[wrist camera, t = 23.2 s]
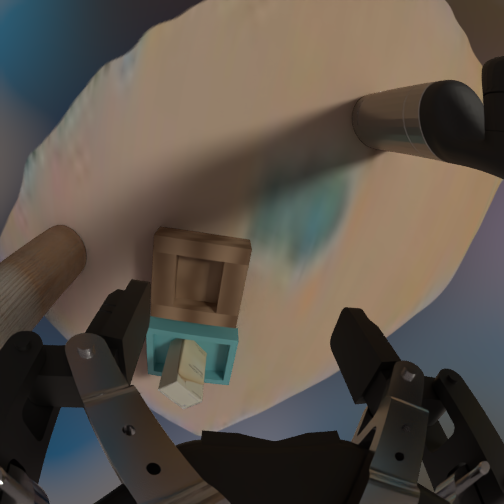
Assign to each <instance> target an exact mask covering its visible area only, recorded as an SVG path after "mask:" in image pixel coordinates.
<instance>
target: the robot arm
mask: <svg viewBox="0 0 504 504" xmlns="http://www.w3.org/2000/svg"><path fill="white" fill-rule="evenodd" d="M482 90H483V104H484V106H483V104H482V102H481V100H480V99H479V97H478V96H477V94H476V93H475V92H474V91H473V90H472V89H471V88H470V87H468V86H467V85H466V84H464V83H462V82H459V81H455V80H444V81H438V82H430V83H424V84H419V85H413V86H407V87H402V88H397V89H392V90H387V91H382V92H377V93H373V94H369V95H366V96H364V97H362V98H361V99H360V100H359V101H358V102H357V103H356V105H355V107H354V110H353V115H352V121H353V126H354V130H355V132H356V134H357V136H358V137H359V139H360V140H361V141H362V142H363V143H364V144H365V145H367V146H369V147H370V148H373V149H378V150H385V151H390V152H396V153H402V154H408V155H413V156H419V157H424V158H429V159H434V160H439V161H443V162H448V163H452V164H457V165H462V166H467V167H470V168H474V169H477V170H481V171H484V172H486V173H489V174H492V175H494V176H497V177H499V178H502V179H504V56H501V57H496V58H494V59H491V60H489V61H487V62H486V63H485V64H484V65H483V68H482ZM150 298H151V284H150V282H146V281H140V280H134V279H132V280H131V281H130V283H129V284H128V286H127V288H126V289H125V290H119V289H117V290H116V291H114V292H112V293H111V294H109V295H108V297H107V298H106V300H105V301H104V303H103V304H102V306H101V308H100V309H99V311H98V312H97V314H96V316H95V317H94V319H93V320H92V322H91V324H90V325H89V327H88V329H87V330H86V332H85V333H81V334H77V335H75V336H73V337H71V338H70V339H69V340H68V341H67V343H66V345H62V346H57V345H43V343H42V340H41V338H40V336H39V335H38V334H36V333H35V332H32V331H20V332H17V333H15V334H13V335H12V336H11V337H9V339H8V340H7V341H6V343H5V344H4V346H3V347H2V349H1V350H0V504H50V503H49V499H48V496H47V495H46V493H45V491H44V490H43V489H42V488H41V487H40V486H39V485H38V482H39V478H40V474H41V470H42V466H43V462H44V458H45V455H46V451H47V448H48V445H49V441H50V438H51V435H52V432H53V429H54V426H55V423H56V420H57V417H58V414H59V411H60V408H61V407H83V408H84V410H85V412H86V414H87V416H88V419H89V421H90V424H91V425H92V428H93V430H94V432H95V434H96V436H97V438H98V440H99V442H100V445H101V447H102V449H103V450H104V453H105V454H106V456H107V458H108V460H109V462H110V464H111V466H112V468H113V469H114V471H115V473H116V475H117V476H118V478H119V480H120V481H121V483H122V484H121V485H120V486H118V487H117V488H116V489H114V490H113V491H111V492H110V493H109V494H107V495H106V496H104V497H103V498H101V499H100V500H98V501H97V502H95V503H94V504H504V444H503V442H502V440H501V438H500V436H499V435H498V433H497V431H496V430H495V428H494V426H493V425H492V423H491V421H490V420H489V418H488V416H487V415H486V413H485V412H484V410H483V409H482V407H481V406H480V404H479V402H478V401H477V399H476V398H475V396H474V395H473V393H472V392H471V390H470V389H469V387H468V386H467V385H466V383H465V382H464V380H463V379H462V377H461V376H460V375H459V374H458V373H456V372H455V371H453V370H451V369H442V370H441V371H440V372H439V374H438V375H437V376H436V378H433V377H427V376H424V374H423V372H422V371H421V369H420V368H419V367H418V366H416V365H415V364H413V363H411V362H409V361H401V359H400V358H399V356H398V355H397V354H396V352H395V351H394V349H393V348H392V346H391V345H390V343H389V342H388V340H387V339H386V337H385V336H383V335H384V334H383V333H382V332H381V330H380V329H379V327H378V326H376V325H375V324H374V323H373V322H372V321H370V320H369V319H368V317H367V316H366V314H365V313H364V311H363V310H362V309H360V308H348V307H345V308H344V309H343V310H342V311H341V314H340V316H339V319H338V321H337V324H336V326H335V328H334V331H333V333H332V336H331V340H330V347H331V350H332V352H333V355H334V357H335V359H336V361H337V364H338V366H339V368H340V371H341V373H342V375H343V377H344V379H345V382H346V384H347V386H348V389H349V391H350V394H351V396H352V398H353V401H354V403H355V404H363V403H367V407H366V409H365V410H364V412H363V415H362V417H361V420H360V422H359V425H358V427H357V429H356V432H355V434H354V436H353V439H352V441H351V442H349V441H345V440H340V438H339V435H338V433H337V431H328V432H315V433H305V434H302V435H298V436H295V437H291V438H288V439H284V440H279V441H270V440H265V439H260V438H255V437H252V436H247V435H243V434H239V433H226V432H213V431H203V430H202V436H201V440H193V441H189V442H185V443H181V444H178V445H176V446H175V444H174V443H173V442H172V440H171V439H170V438H169V436H168V435H167V434H166V432H165V431H164V430H163V428H162V427H161V425H160V424H159V422H158V421H157V419H156V418H155V416H154V415H153V414H152V412H151V410H150V409H149V407H148V406H147V404H146V403H145V401H144V399H143V398H142V396H141V395H140V393H139V391H138V390H137V389H136V387H135V386H134V385H130V384H131V380H132V377H133V374H134V371H135V367H136V364H137V361H138V358H139V355H140V352H141V349H142V346H143V343H144V340H145V337H146V334H147V331H148V328H149V323H150ZM445 411H447V412H448V414H449V416H450V418H451V419H452V421H453V423H454V426H455V429H454V433H453V435H452V436H451V437H450V438H449V439H448V438H447V436H446V435H445V433H444V431H443V429H442V427H441V425H440V423H439V421H438V419H439V418H440V417H441V416H442V415H443V414H444V412H445ZM422 461H423V463H424V466H425V468H426V471H427V473H428V476H429V478H430V481H431V483H432V486H433V488H434V491H435V493H433V492H431V491H430V490H428V489H427V488H425V487H423V486H422V485H420V484H419V483H417V481H418V476H419V472H420V467H421V462H422Z"/></svg>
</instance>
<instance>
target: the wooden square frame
mask: <svg viewBox="0 0 504 504" xmlns="http://www.w3.org/2000/svg"><path fill="white" fill-rule="evenodd" d="M251 252H252V248H251V243H250V240H247V239H240V238H234V237H227V236H221V235H214V234H207V233H201V232H194V231H187V230H181V229H174V228H167V227H160V228H159V229H158V230H157V232H156V233H155V235H154V245H153V262H152V287H151V316H153V317H159V318H165V319H171V320H177V321H184V322H191V323H198V324H205V325H212V326H220V327H228V328H236V324H237V319H238V314H239V309H240V305H241V300H242V295H243V290H244V285H245V280H246V276H247V271H248V266H249V261H250V256H251Z"/></svg>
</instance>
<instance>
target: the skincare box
mask: <svg viewBox="0 0 504 504" xmlns="http://www.w3.org/2000/svg"><path fill="white" fill-rule="evenodd" d="M206 356H207V353H206V352H205V351H204V350H203V349H202V348H201V347H200V346H199V345H198V344H197V343H196V342H195V341H194V340H187V339H180V338H177V339H175V340H173V341H171V342H170V345H169V349H168V353H167V357H166V361H165V364H164V368H163V372H162V376H161V380H160V384H159V388H158V390H159V391H160V392H161V393H162V394H164V395H165V396H166V397H168V398H169V399H170V400H171V401H173V402H174V403H176V404H177V405H178V406H180V407H181V408H183V409H186V408H188V407H191V406H194V405H196V404H199V403H201V402H202V397H203V386H204V376H205V366H206Z"/></svg>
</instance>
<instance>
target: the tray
mask: <svg viewBox="0 0 504 504" xmlns="http://www.w3.org/2000/svg"><path fill="white" fill-rule="evenodd" d="M177 338H180V339H187V340H194V341H195V342H196V343H197V344H198V345H199V346H200V347H201V348H202V349H203V350H204V351H205V352H206V353H207V356H206V366H205V376H204V383H213V384H222V385H229V381H230V377H231V372H232V368H233V363H234V359H235V354H236V350H237V345H238V328H228V327H220V326H212V325H205V324H198V323H191V322H184V321H177V320H171V319H165V318H159V317H153V316H150V323H149V328H148V331H147V334H146V342H147V364H148V374H151V375H157V376H162V372H163V368H164V364H165V361H166V357H167V353H168V349H169V345H170V342H171V341H173V340H175V339H177Z"/></svg>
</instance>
